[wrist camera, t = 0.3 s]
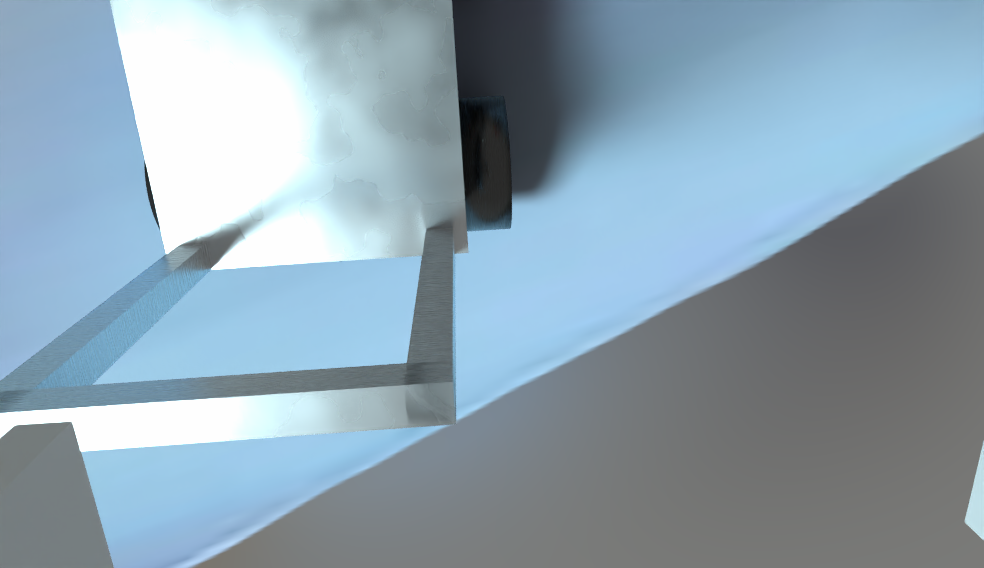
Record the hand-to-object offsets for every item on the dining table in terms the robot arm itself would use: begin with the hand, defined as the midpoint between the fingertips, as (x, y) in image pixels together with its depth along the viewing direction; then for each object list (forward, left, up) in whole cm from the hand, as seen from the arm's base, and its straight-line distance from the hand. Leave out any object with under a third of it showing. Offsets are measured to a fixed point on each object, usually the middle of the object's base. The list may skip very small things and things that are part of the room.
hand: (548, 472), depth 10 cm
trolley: (-6, -6, -26) cm, 28 cm away
